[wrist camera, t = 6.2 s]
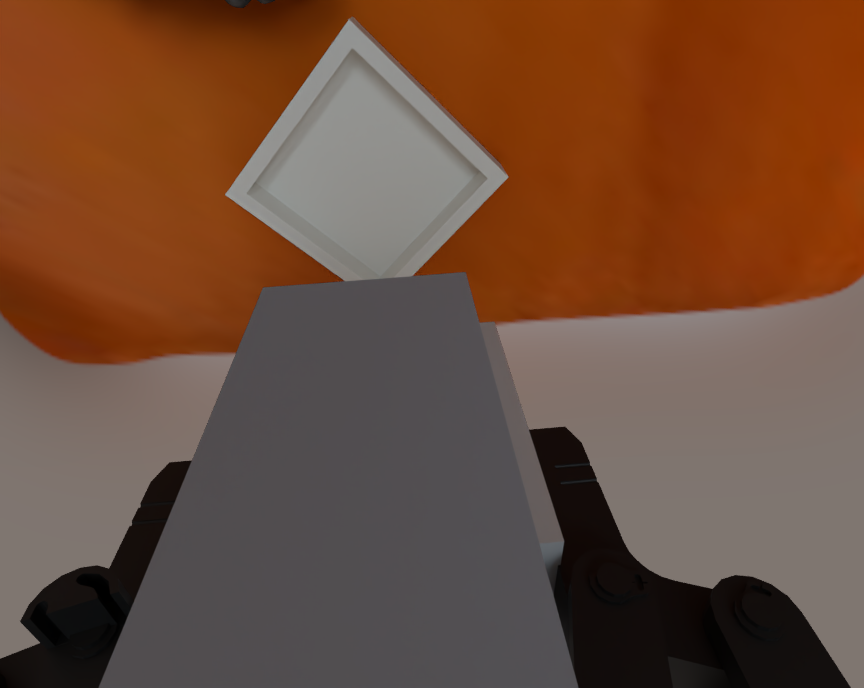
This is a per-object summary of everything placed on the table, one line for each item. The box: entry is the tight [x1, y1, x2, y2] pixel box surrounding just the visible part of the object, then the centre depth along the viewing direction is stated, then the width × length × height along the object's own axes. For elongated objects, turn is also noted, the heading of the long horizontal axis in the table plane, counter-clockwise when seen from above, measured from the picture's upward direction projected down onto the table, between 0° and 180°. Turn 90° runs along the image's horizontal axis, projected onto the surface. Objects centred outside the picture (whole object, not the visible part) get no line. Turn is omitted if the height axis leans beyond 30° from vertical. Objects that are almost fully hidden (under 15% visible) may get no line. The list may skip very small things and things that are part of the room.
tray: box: [225, 16, 508, 281], centre depth 29 cm, size 11×11×2 cm
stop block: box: [99, 272, 578, 688], centre depth 10 cm, size 5×5×10 cm
